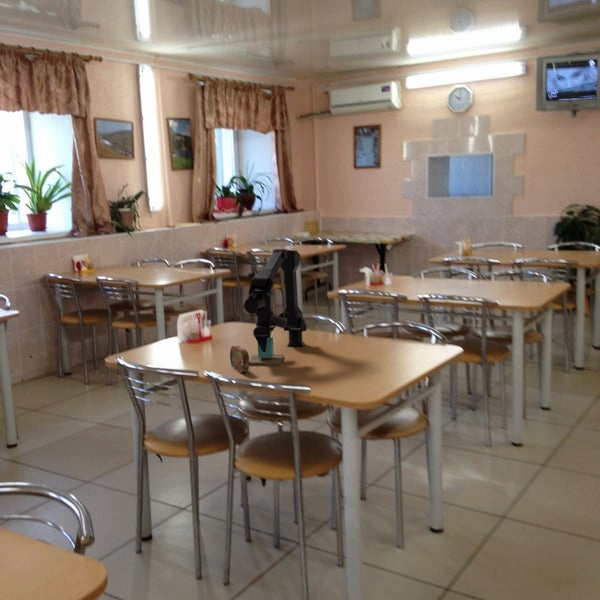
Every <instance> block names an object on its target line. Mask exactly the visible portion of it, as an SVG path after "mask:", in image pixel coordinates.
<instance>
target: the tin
mask: <svg viewBox="0 0 600 600" xmlns="http://www.w3.org/2000/svg"><path fill="white" fill-rule="evenodd" d="M249 356H250V355H249V352H248V351H247V349H245V348H243V347H242V346H241V345H236V346H235V345H233V346H231V348H230V351H229V359H230V360H229V361H230V366H231V367H233V368H234V369H233V368H232V369H233V370H234V371H236V370H237V372H238V373H239V374H241V373H247V372H248V371H249V369H250V365H249V361H250V357H249Z"/></svg>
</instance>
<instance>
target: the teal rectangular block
mask: <svg viewBox="0 0 600 600" xmlns="http://www.w3.org/2000/svg"><path fill="white" fill-rule="evenodd" d="M274 353H275V352H274V337H271V336H270V338H268V339H267V346H266V352H262V350H261V348H260V346H259V344H258V343H257V355H258V358H272V357H273V355H275V354H274Z"/></svg>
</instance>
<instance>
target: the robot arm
mask: <svg viewBox="0 0 600 600" xmlns="http://www.w3.org/2000/svg"><path fill="white" fill-rule="evenodd" d="M300 262H301V254H300V252H298V250H296V249H295V250H293V249H291V250H288V249H285V248H275V249H273V250H272V254H271V256H270V258H269V260H268V261H267V263H266V264H265V267H264V268H263V269H262V270H260V271H258V272H257V273H256V274H255V275H254V276H253V278H252V280H251V283H250V287H249V290H248V298H247V299H246V300H245V301H244V304H243V307H244V310H245V312H247V313H248V314H255V316H256V323H255V324H256V325H255V326H256V327H254V329H252V331H253V332H252V334H253V336H254V339H255V341H257V345H258V344H259V346H260V348H261V350H262V352H266V346H267V339H268V338H271V336H272V332H273V331H274V329H275V328H276V326H277V327H279V328H280V329H283V331H284V332H285V331H286V332H287V333H288V342H287V344H286V345H287V347H303V346H304V345H305V341H303V333H304V332H307V329H308V324H307V322H306V320H305V318H304V316H303V311H302V310H301V308H300V306H299V302H298V288H297V287H298V286H297V285H298V284H297V283H298V282H297V270H298V268H299V267H300ZM280 269H281V270H282V272H283V276H284V292H285V295H284V296H285V309H284V311H283V312H280V313H279V314H275V313H274V310H273V308H272V296H273V295H274V293H273V288H274V286H275V276H276V275H277V273H278V271H279V270H280Z"/></svg>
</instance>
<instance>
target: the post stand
mask: <svg viewBox="0 0 600 600" xmlns="http://www.w3.org/2000/svg"><path fill="white" fill-rule="evenodd" d="M284 358H285V356H284V354H274V355H273V357H272V358H258V354H252V356H251V357H250V358H249V366H281V364H282V361H283V360H284Z"/></svg>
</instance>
